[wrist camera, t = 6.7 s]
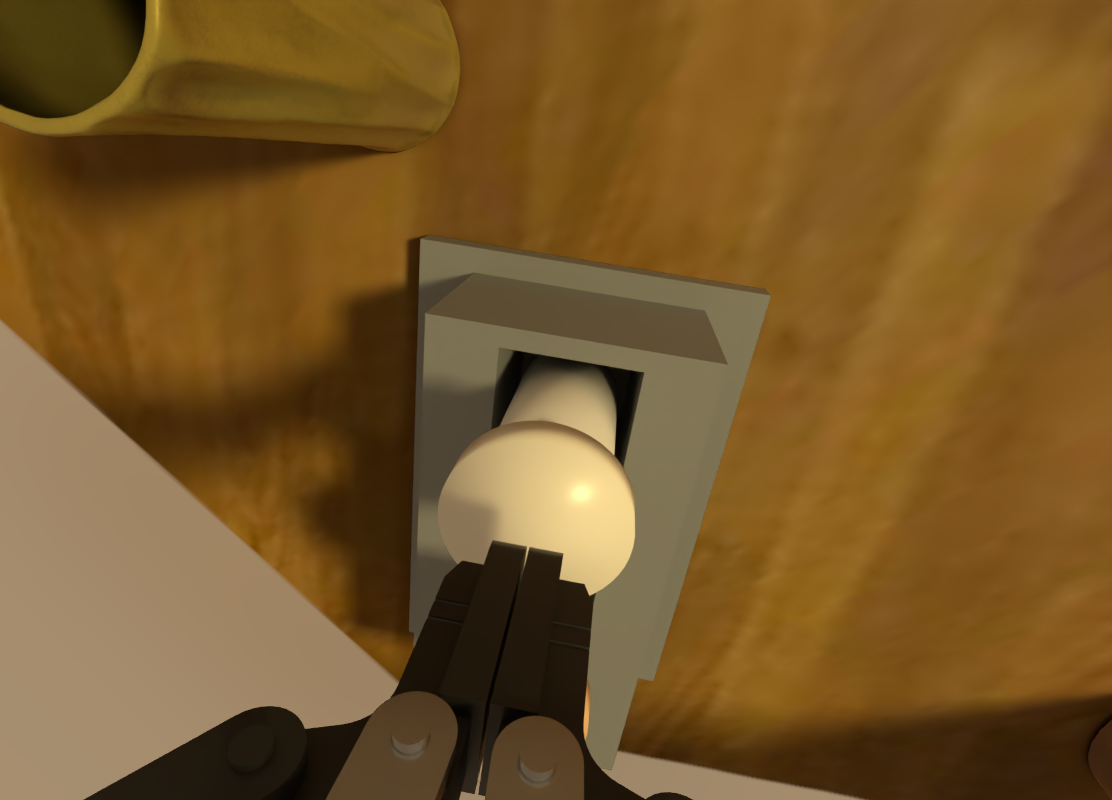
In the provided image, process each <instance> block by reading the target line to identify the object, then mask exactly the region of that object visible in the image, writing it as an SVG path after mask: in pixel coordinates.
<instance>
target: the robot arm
mask: <svg viewBox="0 0 1112 800" xmlns="http://www.w3.org/2000/svg"><path fill="white" fill-rule="evenodd" d="M526 552H527V546H522V545H517V544H512V543H506V542H501V541H496V540H493V541H492V542H491V545H490V548H489V550H488V553H487V556H486V559H485V562H484V565H483V564H478V563H473V562H468V561H461V562H460V563H459V564H458V565H456V566H455V567H454V568H453V569H452V570H451V571H450V572H449V573H448V574H447V575H445V576H444V579H443V581H442V583H441V586H440V588H439V590H438V593H437V595H436V598H435V602H433V605H432V607H431V609H430V612H429V614H428V618H427V619H426V621H425V623H424V626H423V628H422V630H421V633H420V635H419V637H418V640H417V642H416V644H415V647H414V649H413V651H412V654H411V656H410V659H409V661H408V663H407V666H406V668H405V670H404V673H403V675H402V677H401V680H400V682H399V684H398V686H397V688H396V690H395V692H394V694H393V695H392V696H391V698H390V699H389V700H387V701H385V702H384V703H383V704H381V705H380V706H379V707H378V708H377V709H376V710H375V711H374V713H372V714H371V715H369V716H367V717H365V718H363V719H361V720H358V721H355V722H352V723H348V724H343V725H335V726H327V727H318V728H310V729H305V728H304V726H303V724H302V722H301V720H300V719H299V718H298V717H297V716H296V715H295V714H294V713H292V712H291V711H289V710H287V709H284V708H280V707H273V706H267V707H259V708H253V709H250V710H247V711H244V712H242V713H240V714H238V715H236V716H234V717H232V718H230V719H228V720H227V721H225V722H223V723H221V724H219V725H218V726H216V727H214V728H212V729H211V730H209V731H207V732H205V733H203V734H201V735H200V736H198V737H196V738H194V739H192V740H190V741H189V742H187V743H185V744H183V745H181V746H180V747H178V748H176V749H174V750H173V751H171V752H169V753H167V754H165V755H163V756H162V757H160V758H158V759H156V760H154V761H153V762H151V763H149V764H147V765H145V766H144V767H142V768H140V769H138V770H137V771H135V772H133V773H131V774H129V775H128V776H126V777H124V778H122V779H120V780H118V781H117V782H115V783H113V784H111V785H109V786H108V787H106V788H104V789H102V790H100V791H98V792H97V793H95V794H93V795H91V796H90V797H88V798H86V799H84V800H459V798H460V794H461V791H462V792H467V793H472V794H475V789H476V785H477V781H478V777H479V773H480V769H481V765H482V771H481V779H480V786H479V795H482V796H485V800H692V799H690V798H688V797H686V796H683V795H681V794H677V793H671V792H667V793H666V792H665V793H658V794H654V795H652V796H650V797H648V798H647V799H644V798H642V797H640V796H639V795H637V794H635V793H634V792H632V791H630V790H629V789H627V788H625V787H624V786H622V785H620V784H618V783H617V782H616V781H614V780H612V779H611V778H610V777H609V776H607V774H605V773H604V772H603V771H602V770H601V768H600V767H599V766H598V765H597V764H596V762H595V761H594V759H593V758H592V756H591V754H590V752H589V750H588V748H587V744H586V741H585V737H584V712H585V700H586V688H587V676H588V663H589V649H590V639H591V627H592V615H593V604H592V601H591V599H590V596H589V594H588V591H587V589H586V586H585V584H582V583H577V582H571V581H566V580H561V579H560V573H561V567H562V560H563V554H564V553H559V552H554V551H549V550H544V549H538V548H533V547H529V551H528V555H527V559H526ZM525 559H526V563H525ZM524 566H525V567H524ZM482 760H483V764H482ZM1088 760H1089V767H1090V769H1091V771H1092V773H1093V775H1094V777H1095V778H1096V780H1097V781H1098V783H1099V784H1100V785H1101V787H1102V788H1103V789H1104V791H1105V792H1106V794H1107V795H1108V796H1109V798H1110V799H1111V800H1112V720H1111V721H1110V722H1109V723H1107V724H1106V725H1105V726H1104V727H1103V728H1102V729H1101V730H1100V731H1099V732H1098V734H1097V735H1096V737H1095V738H1094V740H1093V742H1092V743H1091V746H1090V750H1089V753H1088Z"/></svg>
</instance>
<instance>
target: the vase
mask: <svg viewBox="0 0 1112 800" xmlns="http://www.w3.org/2000/svg"><path fill="white" fill-rule="evenodd" d="M459 80H460V54H459V49H458V44H457V40H456V37H455V33H454V30H453V27H452V24H451V21H450V18H449V16H448V14H447V11H446V9H445V7H444V6H443V4H442V3H441V1H440V0H0V122H2V123H5V124H7V125H10V126H12V127H14V128H17V129H19V130H22V131H26V132H30V133H33V134H37V135H42V136H49V137H73V136H98V135H149V134H151V135H187V136H207V137H231V138H250V139H262V140H283V141H300V142H309V143H322V144H339V145H360V146H362V147H365V148H369V149H372V150H377V151H387V152H399V151H404V150H407V149H410V148H412V147H415V146H416V145H418V144H420V143H422V142H424V141H425V140H427V139H429V138H430V137H431V136H432V135H434V134H435V133H436V132H437V131H438V130H439V128H440V127H441V126H442V125H443V123H444V122H445V120H446V119H447V117H448V115H449V114H450V112H451V110H452V108H453V106H454V103H455V99H456V96H457V92H458V86H459Z"/></svg>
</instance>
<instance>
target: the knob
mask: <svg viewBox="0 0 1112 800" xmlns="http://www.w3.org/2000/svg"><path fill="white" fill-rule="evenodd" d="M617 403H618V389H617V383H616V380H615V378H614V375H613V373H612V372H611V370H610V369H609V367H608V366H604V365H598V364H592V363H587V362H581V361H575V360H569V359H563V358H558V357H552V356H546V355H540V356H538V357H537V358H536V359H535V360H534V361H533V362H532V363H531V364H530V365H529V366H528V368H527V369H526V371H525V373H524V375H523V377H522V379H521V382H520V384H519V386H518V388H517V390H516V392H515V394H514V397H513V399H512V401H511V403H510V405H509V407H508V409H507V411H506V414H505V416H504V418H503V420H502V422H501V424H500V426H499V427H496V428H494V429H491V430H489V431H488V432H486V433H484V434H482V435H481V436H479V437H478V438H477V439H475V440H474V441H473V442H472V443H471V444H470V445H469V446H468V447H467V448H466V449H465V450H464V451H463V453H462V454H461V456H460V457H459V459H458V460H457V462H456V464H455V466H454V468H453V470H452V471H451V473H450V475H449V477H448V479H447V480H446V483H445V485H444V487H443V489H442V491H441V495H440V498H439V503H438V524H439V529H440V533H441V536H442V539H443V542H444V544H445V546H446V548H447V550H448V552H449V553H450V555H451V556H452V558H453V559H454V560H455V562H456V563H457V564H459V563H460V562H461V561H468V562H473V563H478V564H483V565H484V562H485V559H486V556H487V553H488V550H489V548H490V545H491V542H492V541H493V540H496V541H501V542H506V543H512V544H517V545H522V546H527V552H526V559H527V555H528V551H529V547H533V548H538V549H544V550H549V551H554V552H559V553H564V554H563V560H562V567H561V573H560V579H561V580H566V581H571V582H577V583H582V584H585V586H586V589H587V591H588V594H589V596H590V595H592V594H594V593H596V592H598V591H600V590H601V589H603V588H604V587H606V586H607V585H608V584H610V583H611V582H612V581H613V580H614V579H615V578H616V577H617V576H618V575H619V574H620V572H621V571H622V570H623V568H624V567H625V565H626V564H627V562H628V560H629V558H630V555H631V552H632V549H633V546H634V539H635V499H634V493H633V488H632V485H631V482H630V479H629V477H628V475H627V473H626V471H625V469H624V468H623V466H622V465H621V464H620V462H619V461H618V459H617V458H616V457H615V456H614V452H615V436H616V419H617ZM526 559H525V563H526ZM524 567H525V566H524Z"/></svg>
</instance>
